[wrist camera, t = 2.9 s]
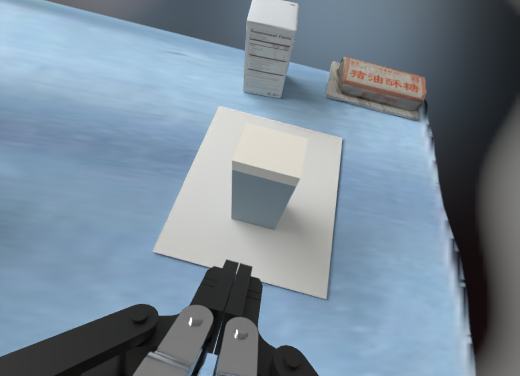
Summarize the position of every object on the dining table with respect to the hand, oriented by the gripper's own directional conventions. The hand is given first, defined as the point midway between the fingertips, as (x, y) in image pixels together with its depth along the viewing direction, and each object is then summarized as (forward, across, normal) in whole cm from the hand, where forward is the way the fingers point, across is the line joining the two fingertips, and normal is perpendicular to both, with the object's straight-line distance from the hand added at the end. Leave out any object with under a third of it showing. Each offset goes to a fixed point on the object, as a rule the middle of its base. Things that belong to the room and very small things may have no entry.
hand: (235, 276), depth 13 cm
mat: (+24, 0, +2) cm, 24 cm away
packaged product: (+44, -16, -17) cm, 49 cm away
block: (+21, 0, +4) cm, 21 cm away
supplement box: (+39, +5, -14) cm, 42 cm away
